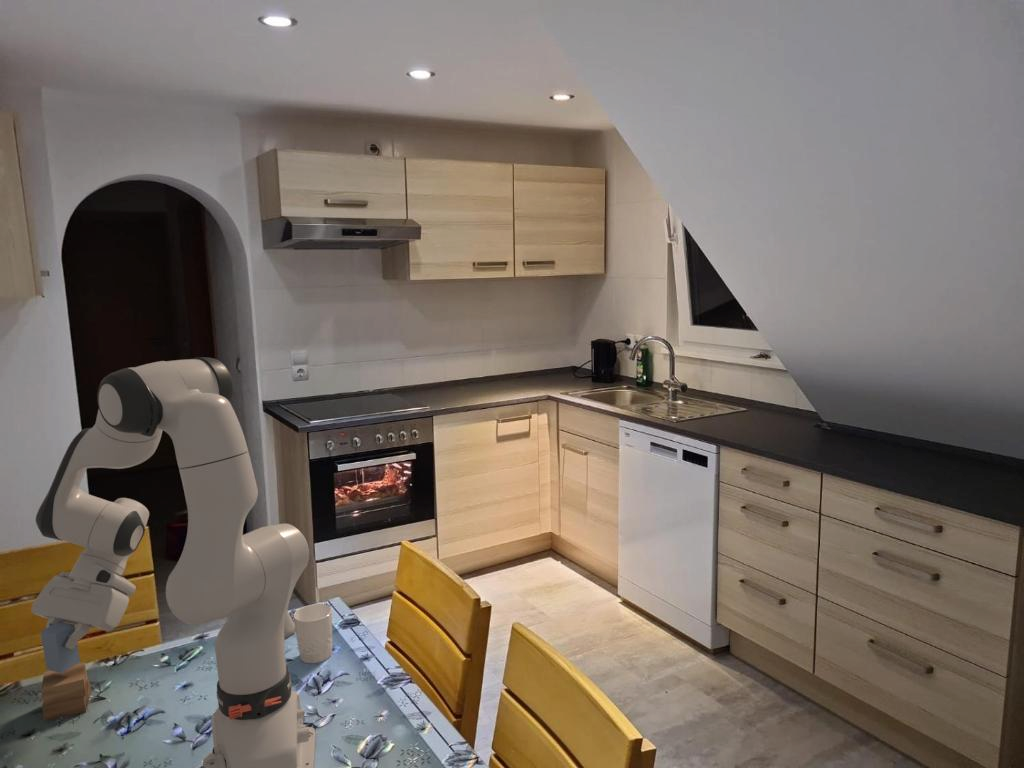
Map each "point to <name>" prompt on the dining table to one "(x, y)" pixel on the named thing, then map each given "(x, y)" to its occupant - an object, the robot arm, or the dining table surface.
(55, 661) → the pillar
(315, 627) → the white cup
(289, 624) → the flask
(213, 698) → the dining table surface
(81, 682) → the tower top
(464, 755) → the dining table surface
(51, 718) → the tower base
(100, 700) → the dining table surface
